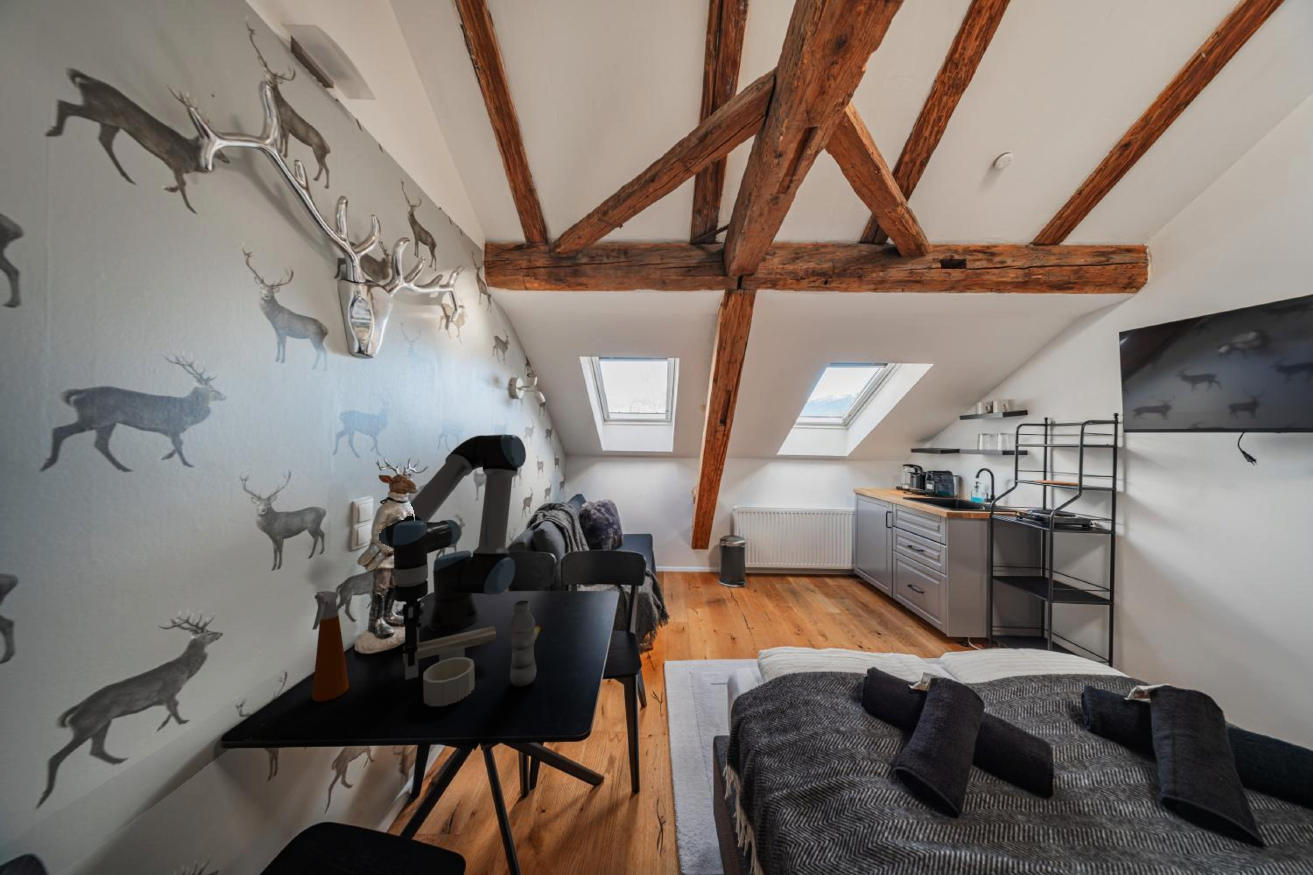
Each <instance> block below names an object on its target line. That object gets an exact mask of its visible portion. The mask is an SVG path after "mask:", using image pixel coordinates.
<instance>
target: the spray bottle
mask: <svg viewBox="0 0 1313 875" xmlns="http://www.w3.org/2000/svg"><path fill="white" fill-rule="evenodd" d="M338 598H339V594H338V593H336V592H335V591H331V590H323V591H318V592H316V594H315V595H314V599H315V600H316V603H317V610H316V616H315V617H314V623H313V626H312V631H313V630H315V631H316V630H318V633H317V634H318V635H317V642H316V644H317V646H316V656H315V666H314V675H313V683H312V684H313V685H312V695H311V697H312V700H313V701H314V702H317V703H318V702H319V703H320V702H321V703H322V702H326V701H332V700H333V699H337V698H338V697H341V696H342V695H344V694H345V693H346V692H347V691H348V689H349V688H350V685H349V679H348V678H349V677H348V672H347V671H348V670H347V664H346V658H345V657H346V656H345V650H344V642H343V636H342V629H341V622H340V616H339V606H338V605H337V603H338V602H337V600H338Z"/></svg>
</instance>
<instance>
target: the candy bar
mask: <svg viewBox="0 0 1313 875" xmlns="http://www.w3.org/2000/svg"><path fill="white" fill-rule="evenodd" d="M541 629H542V626H541V625H539V624H535V630H534V643H533V645H534V646H535V643H536V641H537V638H538V636H539V633H540V631H541ZM535 640H536V641H535Z"/></svg>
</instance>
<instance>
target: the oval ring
mask: <svg viewBox="0 0 1313 875" xmlns="http://www.w3.org/2000/svg"><path fill="white" fill-rule="evenodd" d="M422 677H423V678H422V680H423V681H422V682H423V684H422V685H423V703H424V704H426V705H427V706H429V707H445V706H449V705H452V703H453V704H455V703H458V702H460V701H462V700H463V699H465V698H467V697H469V696H468V695H469V694H470V695H471V693H472V692H473V691H474V689H475V688H474V687H475V686H476V684H475V683H476V682H475V663H474V660H473V659H471V658H468V657H455V658H450V659H446V660H442V661H440V662H439V661H438V662H436V663H434V664H432V665H430V666H429V667H427V669H426V670H425V671H424V672H423V676H422ZM472 690H473V691H472ZM471 691H472V692H471ZM466 696H467V697H466ZM464 697H465V698H464ZM461 699H462V700H461ZM457 701H458V702H457ZM448 704H449V705H448Z"/></svg>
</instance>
